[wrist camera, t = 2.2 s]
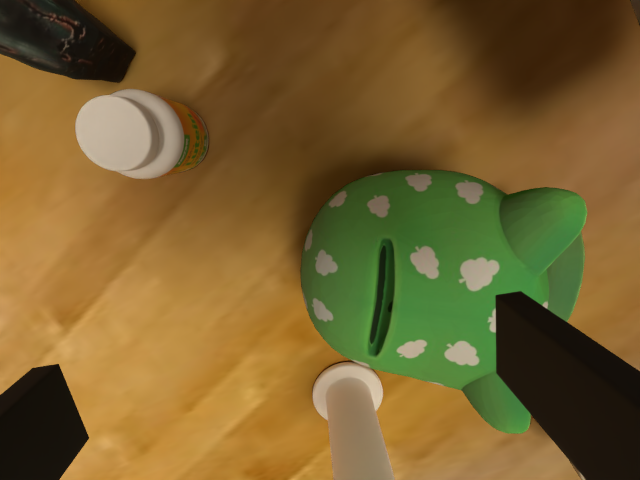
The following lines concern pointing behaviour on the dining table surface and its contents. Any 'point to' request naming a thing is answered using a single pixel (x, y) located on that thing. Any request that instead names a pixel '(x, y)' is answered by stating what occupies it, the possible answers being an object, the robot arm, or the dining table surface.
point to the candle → (353, 421)
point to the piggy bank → (439, 275)
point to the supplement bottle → (141, 134)
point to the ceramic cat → (62, 40)
